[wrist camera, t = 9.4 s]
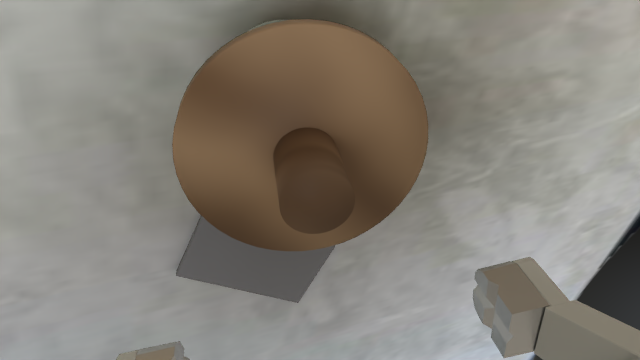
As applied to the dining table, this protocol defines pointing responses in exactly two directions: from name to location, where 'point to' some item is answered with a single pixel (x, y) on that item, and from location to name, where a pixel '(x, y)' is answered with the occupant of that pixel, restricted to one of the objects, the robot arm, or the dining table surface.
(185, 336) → the dining table surface
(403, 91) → the lid
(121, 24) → the dining table surface
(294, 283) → the mat
